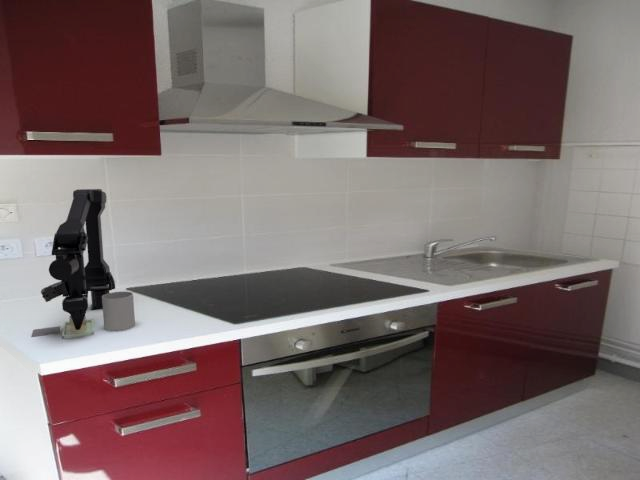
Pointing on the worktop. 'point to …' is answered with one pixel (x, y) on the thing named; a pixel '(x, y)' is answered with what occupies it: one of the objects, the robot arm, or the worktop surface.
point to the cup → (118, 311)
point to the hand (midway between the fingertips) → (78, 325)
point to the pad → (45, 331)
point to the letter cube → (72, 327)
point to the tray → (68, 334)
